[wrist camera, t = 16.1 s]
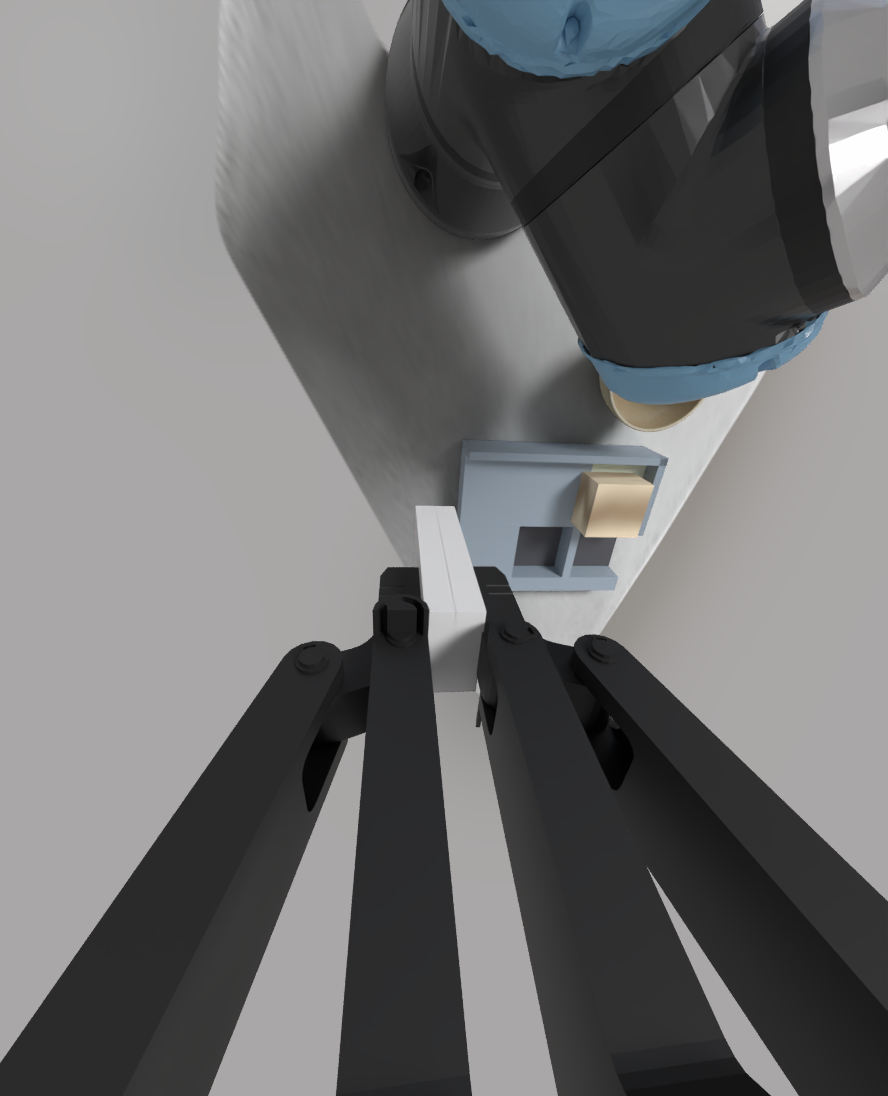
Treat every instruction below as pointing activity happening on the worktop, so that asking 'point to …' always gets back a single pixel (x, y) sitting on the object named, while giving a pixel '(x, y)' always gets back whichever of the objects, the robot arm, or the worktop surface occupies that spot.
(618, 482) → the block
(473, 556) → the tray
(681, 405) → the tan bowl
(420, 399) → the worktop surface
